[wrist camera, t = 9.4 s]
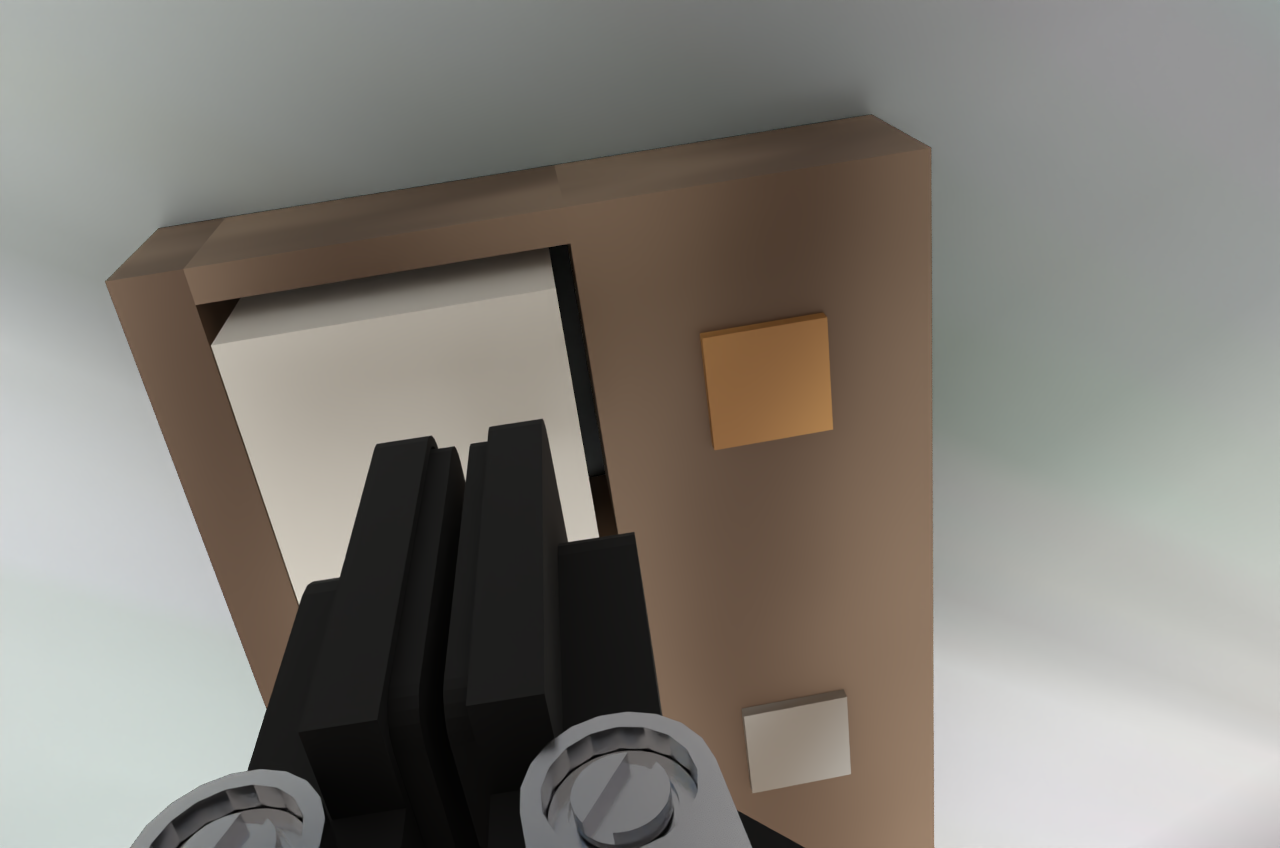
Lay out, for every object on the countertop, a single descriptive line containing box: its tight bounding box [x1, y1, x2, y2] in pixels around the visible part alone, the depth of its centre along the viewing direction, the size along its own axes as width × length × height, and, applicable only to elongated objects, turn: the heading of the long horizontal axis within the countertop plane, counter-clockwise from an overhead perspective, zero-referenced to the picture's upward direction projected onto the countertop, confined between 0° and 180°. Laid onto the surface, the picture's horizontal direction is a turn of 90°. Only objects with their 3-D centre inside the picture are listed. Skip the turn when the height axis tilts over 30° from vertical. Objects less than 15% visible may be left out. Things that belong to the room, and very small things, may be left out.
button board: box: [105, 114, 934, 848], centre depth 20 cm, size 11×20×3 cm, turn 8°
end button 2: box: [211, 247, 599, 604], centre depth 16 cm, size 4×4×3 cm
